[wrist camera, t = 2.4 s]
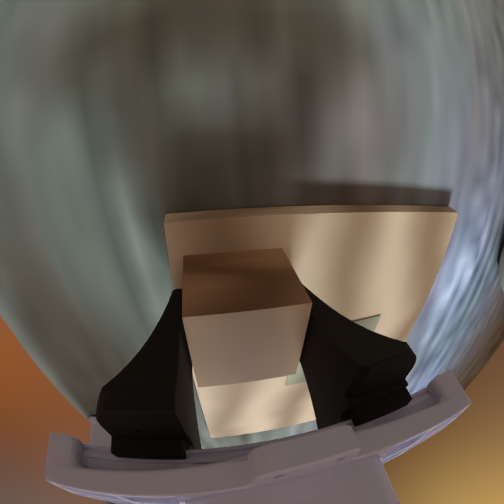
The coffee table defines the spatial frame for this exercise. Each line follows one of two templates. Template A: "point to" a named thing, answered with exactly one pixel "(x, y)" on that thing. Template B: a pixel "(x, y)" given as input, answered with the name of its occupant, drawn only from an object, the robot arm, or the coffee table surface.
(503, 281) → the vase
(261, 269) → the walnut block
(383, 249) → the birch board
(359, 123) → the coffee table surface
